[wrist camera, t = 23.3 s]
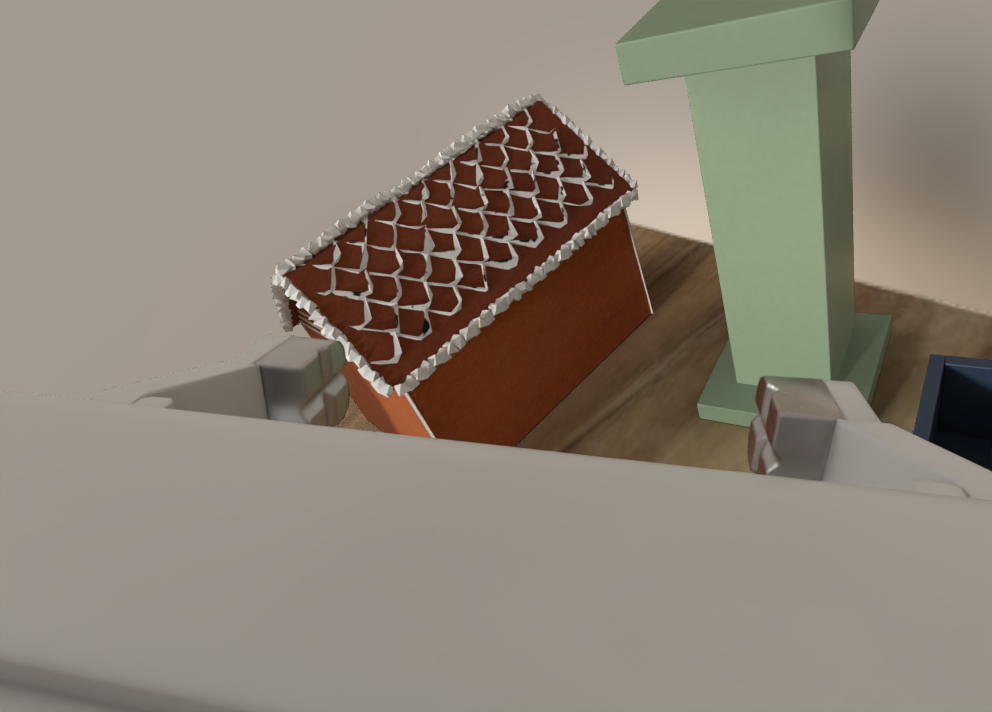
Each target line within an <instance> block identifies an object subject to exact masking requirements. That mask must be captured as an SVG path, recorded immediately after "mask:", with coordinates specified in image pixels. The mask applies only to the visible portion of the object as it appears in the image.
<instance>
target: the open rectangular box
mask: <svg viewBox="0 0 992 712" xmlns="http://www.w3.org/2000/svg"><path fill="white" fill-rule="evenodd" d="M913 434H914V435H916V436H918V437H920V438H922V439H924V440H926V441H929V442H931V443H933V444H935V445H937V446H939V447H941V448H943V449H945V450H948V451H950V452H952V453H954V454H956V455H958V456H960V457H962V458H964V459H967V460H969V461H971V462H973V463H975V464H977V465H979V466H981V467H983V468H986V469H989V463H990V458H991V452H992V360H986V359H976V358H966V357H955V356H945V355H935V354H931V355H930V359H929V364H928V368H927V373H926V377H925V382H924V386H923V391H922V395H921V400H920V404H919V409H918V413H917V418H916V423H915V427H914V432H913Z"/></svg>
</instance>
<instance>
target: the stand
mask: <svg viewBox="0 0 992 712" xmlns="http://www.w3.org/2000/svg"><path fill="white" fill-rule="evenodd" d="M878 2H879V0H660V1H659V2H658V3H657V4H656V5H655V6H654V7H653V8H652V9H651V10H650V11H649V12H647V13H646V14H645V15H644V16H643V17H642V18H641V19H640V20H639V21H638V22H637V23H636V24H635V25H634V26H633V27H632V29H630V30H629V31H628V32H627V33H626V34H625V35H624V36H623V37H622V38H621V39H620V40H619V41H618V42H617V43H616V44H615V48H616V52H617V56H618V61H619V65H620V69H621V74H622V78H623V83H624V85H630V84H636V83H642V82H649V81H656V80H662V79H668V78H675V77H682V76H685V80H686V85H687V92H688V98H689V103H690V109H691V115H692V121H693V127H694V133H695V139H696V145H697V151H698V157H699V162H700V168H701V174H702V180H703V186H704V192H705V198H706V203H707V209H708V215H709V221H710V227H711V233H712V239H713V245H714V251H715V256H716V262H717V268H718V274H719V280H720V286H721V292H722V298H723V304H724V309H725V315H726V321H727V327H728V333H729V339H728V341H727V343H726V345H725V347H724V349H723V351H722V353H721V355H720V357H719V359H718V361H717V363H716V365H715V367H714V369H713V372H712V374H711V376H710V378H709V380H708V382H707V384H706V386H705V388H704V390H703V392H702V394H701V396H700V398H699V400H698V402H697V407H698V412H699V416H700V418H702V419H707V420H713V421H718V422H724V423H729V424H735V425H741V426H746V427H750V423H751V420H753V419H754V418H755V417H756V416H757V415H758V414H759V411H758V408H757V405H756V402H755V396H756V390H757V386H758V383H759V380H760V378H761V377H762V376H779V377H796V378H812V379H822V380H831V381H849V382H852V383H854V384H855V385H856V387H857V388H858V390H859V391H860V393H861V394H862V395H863V397H864V398H865V400H866V401H867V403H868V404H869V405H870V406H871V403H872V399H873V396H874V392H875V388H876V385H877V381H878V378H879V374H880V370H881V367H882V363H883V360H884V356H885V352H886V349H887V345H888V342H889V338H890V334H891V329H892V315H881V314H866V313H855V311H854V250H853V249H854V247H853V183H852V124H851V121H852V120H851V62H850V61H851V56H850V50H853V49H855V47H856V45H857V43H858V41H859V39H860V37H861V35H862V33H863V31H864V29H865V27H866V25H867V23H868V22H869V20H870V18H871V16H872V14H873V12H874V10H875V8H876V6H877V4H878Z"/></svg>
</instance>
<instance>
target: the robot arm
mask: <svg viewBox="0 0 992 712" xmlns="http://www.w3.org/2000/svg"><path fill="white" fill-rule="evenodd" d="M346 363H347V362H346V355H345V348H344V346H343V345H342V343H341V342H340V341H335V340H325V339H315V338H305V337H295V336H294V335H293V336H292V335H276V334H269V335H268V336H266V337H265V338H263V339H262V340H261V341H259V342H257V343H256V344H254V345H253V346H251V347H250V348H249V349H247V350H245V351H244V352H243V353H241V354H240V355H238V356H237V357H235V358H234V359H232V360H231V361H229V362H223V361H221V362H217V363H213V364H209V365H205V366H201V367H196V368H192V369H188V370H184V371H180V372H176V373H172V374H168V375H164V376H160V377H155V378H151V379H147V380H143V381H139V382H135V383H131V384H127V385H123V386H119V387H114V388H110V389H107V390H104V391H102V392H100V393H99V394H97V395H95V396H93V397H92V398H90V399H78V398H70V397H61V396H52V395H42V394H34V393H25V392H16V391H7V390H0V712H992V471H990V470H988V469H986V468H983V467H981V466H979V465H977V464H975V463H973V462H971V461H969V460H967V459H964V458H962V457H960V456H958V455H956V454H954V453H952V452H950V451H948V450H945V449H943V448H941V447H939V446H937V445H935V444H933V443H931V442H929V441H926V440H924V439H922V438H920V437H918V436H916V435H914V434H912V433H910V432H907V431H905V430H903V429H901V428H899V427H897V426H895V425H893V424H887V423H881V421H880V420H879V418H878V417H877V415H876V414H875V413H874V411H873V410H872V408H871V407H870V405H869V404H868V403H867V401H866V400H865V398H864V397H863V395H862V394H861V393H860V391H859V390H858V388H857V387H856V385H855V384H854V383H852V382H849V381H831V380H822V379H812V378H796V377H779V376H762V377H761V378H760V380H759V383H758V386H757V390H756V396H755V402H756V405H757V408H758V411H759V414H758V415H757V416H756V417H755V418H754V419H753V420H751V423H750V430H749V436H748V461H749V466H750V470H751V471H753V472H754V473H755V474H752V473H743V472H734V471H725V470H716V469H707V468H698V467H689V466H680V465H671V464H662V463H653V462H644V461H635V460H626V459H617V458H608V457H599V456H590V455H581V454H572V453H563V452H554V451H545V450H536V449H527V448H518V447H509V446H500V445H491V444H482V443H473V442H464V441H455V440H446V439H437V438H428V437H419V436H410V435H401V434H392V433H383V432H374V431H365V430H356V429H347V428H338V427H333V426H336V425H338V424H339V423H340V422H341V421H342V419H343V418H344V417H345V414H346V411H347V408H348V406H349V395H350V392H349V382H348V381H347V379H346V378H345V377H344V376H343V374H342V373H341V370H342V369H343V367H344V366H345V364H346Z"/></svg>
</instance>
